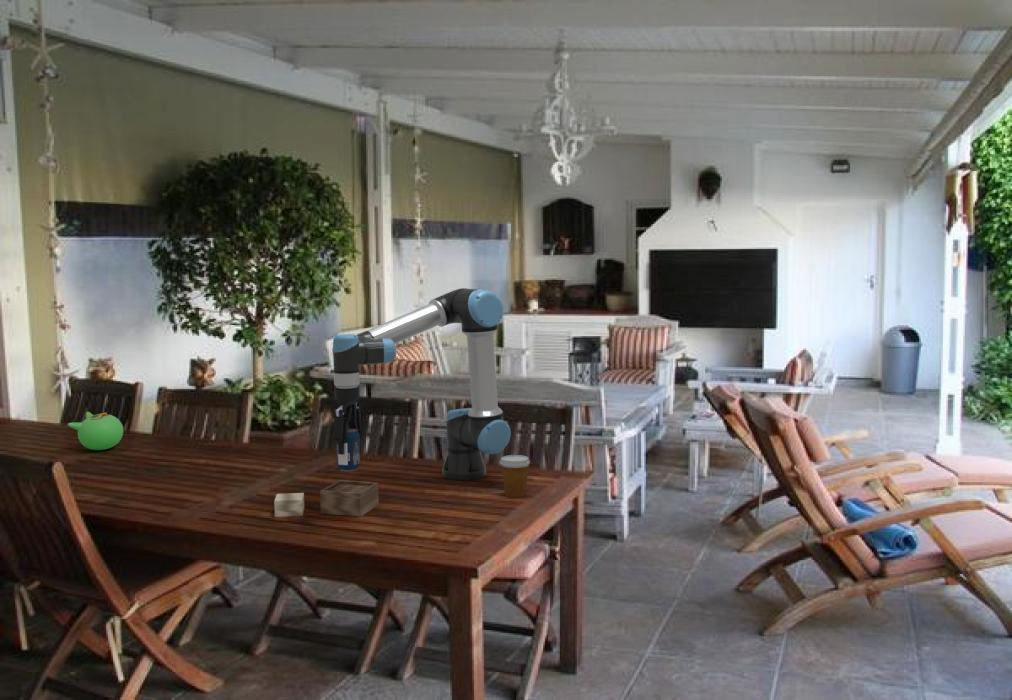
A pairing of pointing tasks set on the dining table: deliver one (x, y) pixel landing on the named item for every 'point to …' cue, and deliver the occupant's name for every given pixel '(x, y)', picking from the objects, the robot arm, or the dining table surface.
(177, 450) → the dining table surface
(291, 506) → the beech block
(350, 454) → the soda can
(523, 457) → the disposable coffee cup
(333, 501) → the wooden crate
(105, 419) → the toy bird
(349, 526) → the dining table surface
